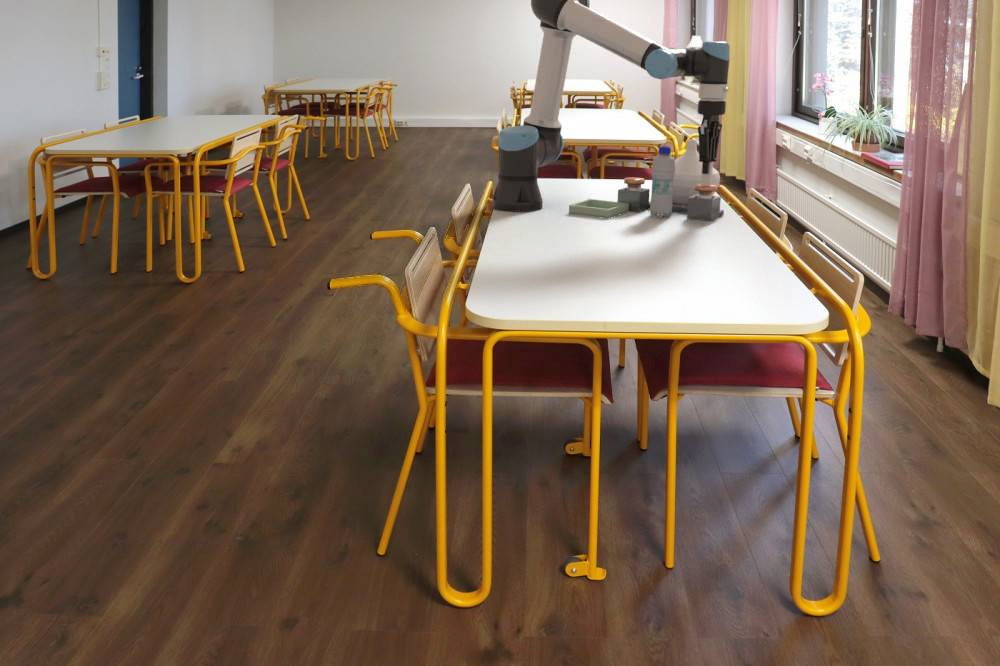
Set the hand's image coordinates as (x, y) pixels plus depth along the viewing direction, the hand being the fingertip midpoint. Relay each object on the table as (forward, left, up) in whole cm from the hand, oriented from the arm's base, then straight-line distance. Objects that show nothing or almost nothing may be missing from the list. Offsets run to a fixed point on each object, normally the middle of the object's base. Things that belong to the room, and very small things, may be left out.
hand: (706, 184), depth 276 cm
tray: (-28, -11, -9) cm, 31 cm away
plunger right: (0, 0, -8) cm, 8 cm away
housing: (-11, +2, -9) cm, 15 cm away
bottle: (-11, -5, -10) cm, 16 cm away
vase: (-13, +21, -10) cm, 27 cm away
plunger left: (-22, 0, -9) cm, 24 cm away
